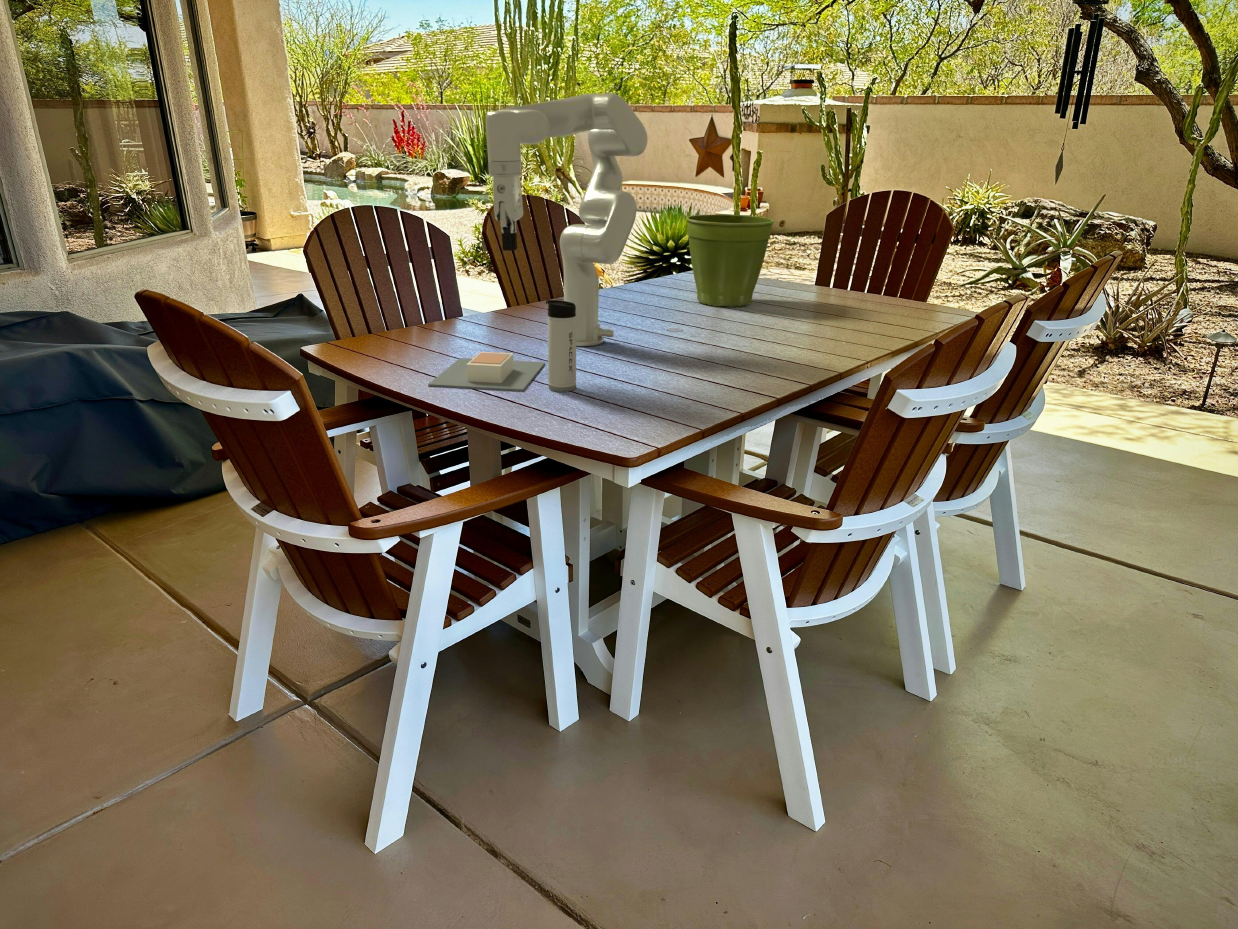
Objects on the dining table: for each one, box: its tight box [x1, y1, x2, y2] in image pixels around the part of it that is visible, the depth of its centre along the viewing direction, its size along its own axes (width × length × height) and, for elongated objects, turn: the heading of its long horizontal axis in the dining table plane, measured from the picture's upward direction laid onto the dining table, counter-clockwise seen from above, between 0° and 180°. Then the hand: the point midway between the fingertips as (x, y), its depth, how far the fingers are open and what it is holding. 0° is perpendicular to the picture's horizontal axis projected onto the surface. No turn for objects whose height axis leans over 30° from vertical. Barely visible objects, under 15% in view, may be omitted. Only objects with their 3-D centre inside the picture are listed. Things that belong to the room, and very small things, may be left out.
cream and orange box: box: [466, 351, 514, 383], centre depth 191 cm, size 8×4×12 cm
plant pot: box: [685, 214, 775, 307], centre depth 281 cm, size 30×30×29 cm
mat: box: [428, 357, 546, 392], centre depth 194 cm, size 22×24×1 cm
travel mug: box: [545, 299, 577, 393], centre depth 181 cm, size 6×7×20 cm
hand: (510, 249), depth 195 cm, fingers closed
